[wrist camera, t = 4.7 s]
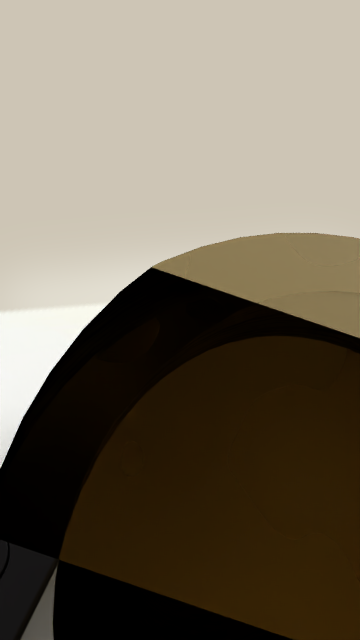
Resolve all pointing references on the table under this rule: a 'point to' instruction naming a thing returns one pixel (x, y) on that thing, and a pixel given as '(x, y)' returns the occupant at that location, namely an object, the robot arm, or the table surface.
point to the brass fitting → (203, 451)
